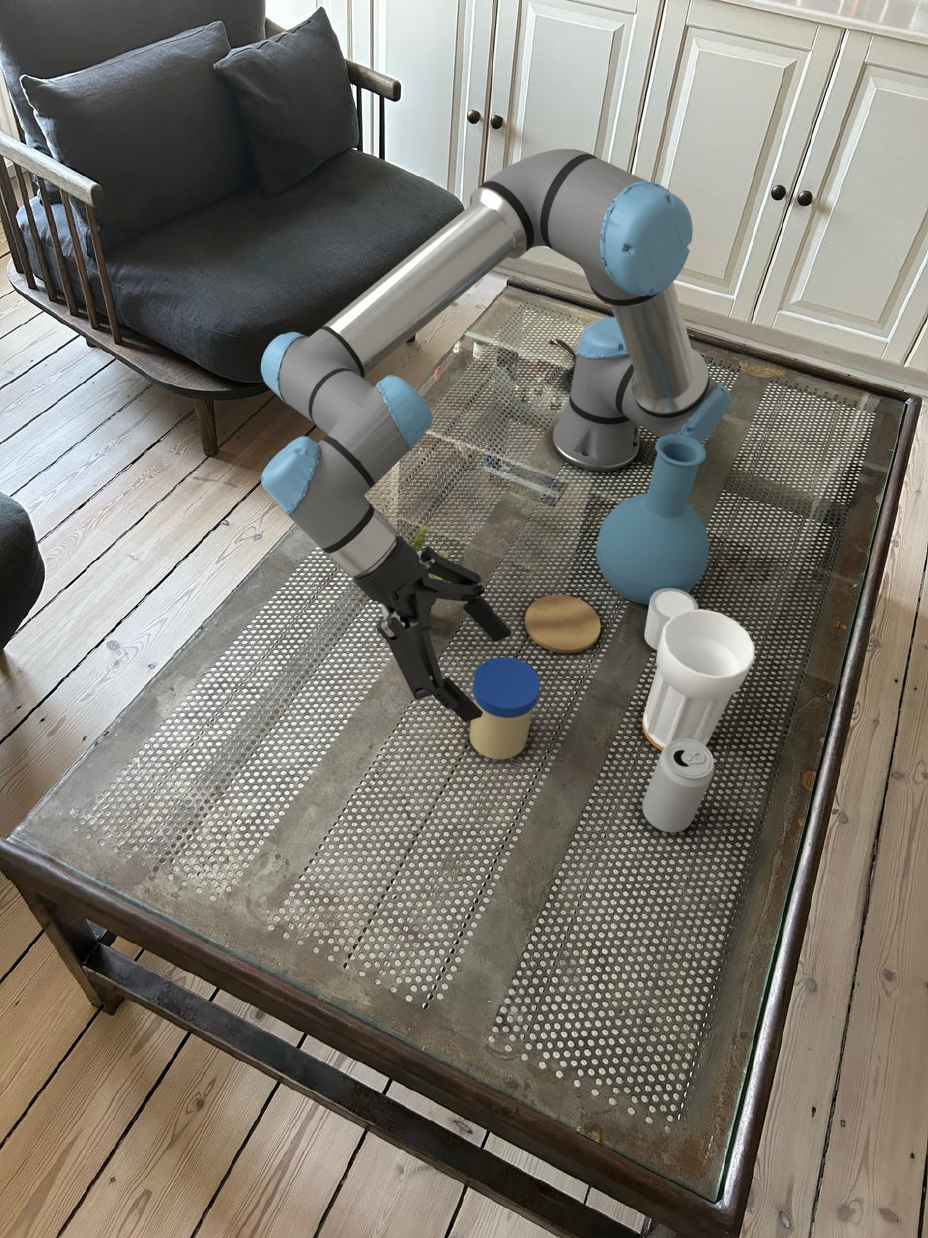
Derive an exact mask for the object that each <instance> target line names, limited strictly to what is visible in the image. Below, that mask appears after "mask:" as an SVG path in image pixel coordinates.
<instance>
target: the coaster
mask: <svg viewBox="0 0 928 1238" xmlns="http://www.w3.org/2000/svg"><path fill="white" fill-rule="evenodd" d="M601 625H602V624H601V619H600V617H599V615H598V613H597V611H596V610H595V608H593V607H592V606H591V605H589V604H588V603H587V602H585V601H584V600H583V599H580V598H577V597H575V596H571V595H567V594H549V595H545V596H542V597H539V598H538V599H536V600H534V601H533V602H532V603H531V604H530V605H529V606H528V608H527V610H526V612H525V617H524V626H525V631H526V632H527V634H528V636H529V638H531V640H533V641H534V642H535V643H536V644H537V645H539V646H540V647H542V648H544V649H546V650H548V651H550V652H554V653H558V654H575V653H580V652H583V651H586V650H587V649H590V648H591V647H592V646H593V645H595V643H596V642H597V640H598V639H599V637H600V633H601V629H602V628H601V627H602V626H601Z"/></svg>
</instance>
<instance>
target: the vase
mask: <svg viewBox="0 0 928 1238" xmlns="http://www.w3.org/2000/svg"><path fill="white" fill-rule="evenodd" d="M654 450H655V451H656V452H657V454H656V458H655V460H654V464H653V469H652V473H651V477H650V481H649V486H648V492H644V493H641V494H637V495H635V496H632V497H629V498H626V499H625V500H622V501H621V502H619V503H618V504H617V505H616V506H615V507H614V508H613V510H611V512H609V514H608V515H607V516H606V518H604V520H603V521H602V523H601V526H600V529H599V533H598V537H597V542H596V547H595V558H596V561H597V564H598V566H599V569H600V572H601V575H602V576H603V578H604V580H605V582H606V583H607V584H608V585H609V587H611V589H612V590H613V591H614V592H615V593H616V594H617V595H618V596H621V597H623V598H624V599H626V600H628V601H630V602H633V603H638V604H643V605H646V606H649V603H650V598H651V596H652V595H653V593H654V592H656V591H658V590H660V589H664V588H674V589H680V590H682V591H684V592H686V593H688V594H689V593H690V592H691V590H693V588H695V586H696V585H697V584H698V582H699V581H700V579H701V578H702V577H703V575H704V573H705V571H706V569H707V566H708V560H709V553H710V551H709V550H710V540H709V535H708V532H707V530H706V528H705V525H704V523H703V520H702V519H701V517H700V514H699V513H698V512H696V510H695V509H693V507H692V506H690V505H689V504H688V499H689V498H690V494H691V492H692V488H693V486H694V483H695V479H696V476H697V475H698V474H697V473H698V470H699V465H701V464H702V463H703V461H704V460H705V459H706V457H707V450H706V449H705V447H704V445H703V443H702V444H701V443H700V442H699V441H698V440H696V439H693V438H691V437H689V436H685V435H680V434H670V435H666V436H663V437H660V438H659V437H658V440H656V442H655V447H654Z"/></svg>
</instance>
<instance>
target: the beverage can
mask: <svg viewBox="0 0 928 1238" xmlns="http://www.w3.org/2000/svg"><path fill="white" fill-rule="evenodd" d="M714 774H715V760H714V755H713V754H712V752H711V751H710V749H709V748H708V747H707V745H706V746H705V745H703V744H702V743H700V742H698V741H696V740H693V739H689V738H680V739H676V740H674V741H672V742H671V743H670V744H669V745H668V746H666V747H665V748H664V749H663V751H661V752H660V755H659V758H658V760H657V763H656V765H655V768H654V771H653V774H652V776H651V779H650V781H649V784H648V786H647V789H646V792H645V795H644V797H643V800H642V803H641V804H642V805H641V809H642V813H643V815H644V817H645V819H646V821H647V822H648V823H649V824H650V825H651V826H653V827H654V828H655V829H657V830H659V831H661V832H665V833H679V832H682V831H684V830H686V829H688V828H689V827H690V825H691V824H692V822H693V820H694V818H695V817H696V813H697V811H698V809H699V807H700V805H701V802H702V801H703V798H704V796H705V794H706V792H707V790H708V787H709V785H710V783H711V781H712V779H713V777H714Z"/></svg>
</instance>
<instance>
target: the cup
mask: <svg viewBox="0 0 928 1238" xmlns="http://www.w3.org/2000/svg"><path fill="white" fill-rule="evenodd" d="M755 647H756V646H755V644H754V642H753V640H752V638H751V636H750V634H749V632H748V631H747V630H746V629H745V628H744V627H743V626H742V625H741V624H739V623H738V622H737V620H735V619H733V618H731V617H728V616H727V615H725V614H723V613H721V612H718V611H713V610H708V609H704V608H701V609H698V610H686V611H684V612H681V613H679V614H677V615H675V616H673V617H672V618H671V619H670V620H669V621H668V622H667V624H666V625H665V626H664V628H663V631H662V635H661V639H660V642H659V646H658V649H657V650H656V660H655V663H656V670H655V673H654V676H653V680H652V683H651V687H650V691H649V694H648V698H647V702H646V704H645V708H644V712H643V715H642V720H641V721H642V722H641V726H642V727H641V728H642V731H643V733H644V736H645V738H646V739H647V740H648V741H649V742H650V743H651V744H652V745H653V746H654V747H655V748H656V749H658V750H659V751H661V752H662V751H663V749H664V748H665V747H666V746H668V745H669V744H670V743H671V742H672V741H674V740H676V739H680V738H689V739H693V740H696V741H698V742H700V743H702V744H703V745H705V746H706V747H707V745H708V744H709V742H710V740H711V738H712V736H713V734H714V731H715V730H716V727H717V725H718V724H719V721H720V720H721V717H722V716H723V713H724V711H725V709H726V707H727V705H728V703H729V702H730V699H731V698H732V695H733V694H736V693H737V692H738V690H739V688H740V687H741V686H742V685H743V683H744V682H745V680H746V678H747V675H748V673H749V671H750V670H751V667H752V666H753V664H754V662H755V649H756V648H755Z"/></svg>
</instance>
